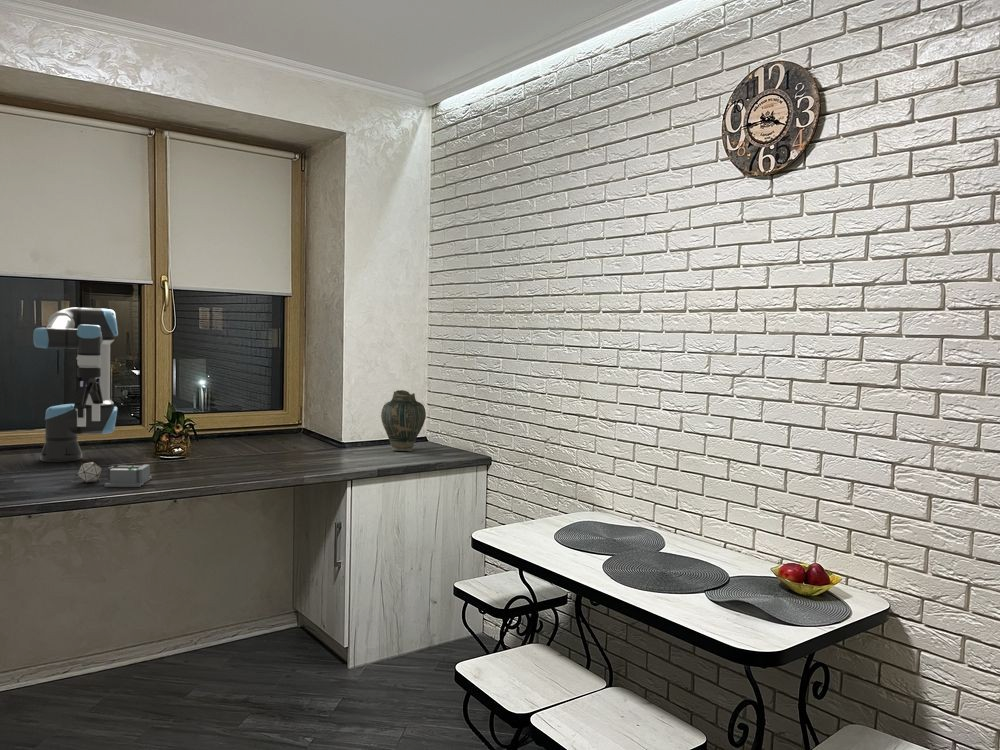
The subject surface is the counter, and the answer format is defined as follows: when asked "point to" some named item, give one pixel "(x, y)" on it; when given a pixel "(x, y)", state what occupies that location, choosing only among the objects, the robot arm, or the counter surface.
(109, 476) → the block with dark end
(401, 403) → the vase
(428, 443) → the counter surface
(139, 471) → the gauge housing
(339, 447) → the counter surface
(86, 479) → the game die
